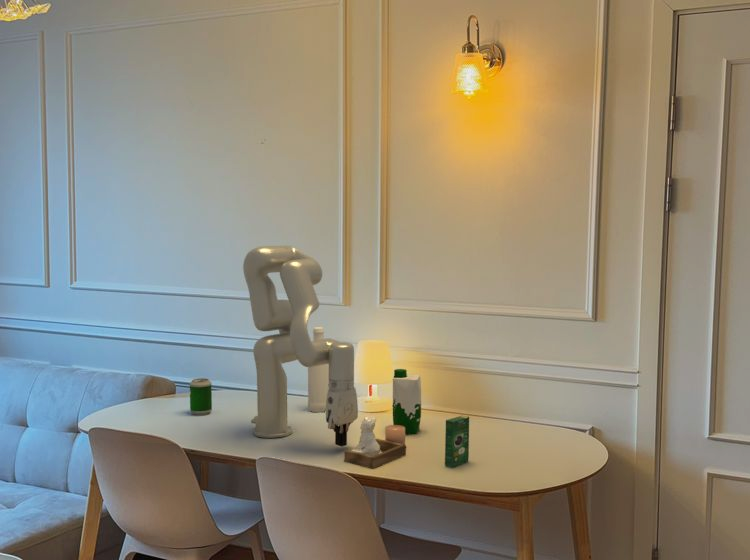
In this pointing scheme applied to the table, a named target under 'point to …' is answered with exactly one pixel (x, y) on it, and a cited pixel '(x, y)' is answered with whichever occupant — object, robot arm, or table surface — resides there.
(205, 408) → the soda can
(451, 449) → the coffee box
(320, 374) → the bottle
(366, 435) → the white creature statuette
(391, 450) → the display bay
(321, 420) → the table surface
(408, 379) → the milk carton
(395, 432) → the tan rounded cylinder
